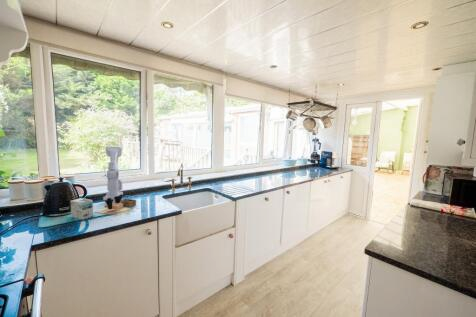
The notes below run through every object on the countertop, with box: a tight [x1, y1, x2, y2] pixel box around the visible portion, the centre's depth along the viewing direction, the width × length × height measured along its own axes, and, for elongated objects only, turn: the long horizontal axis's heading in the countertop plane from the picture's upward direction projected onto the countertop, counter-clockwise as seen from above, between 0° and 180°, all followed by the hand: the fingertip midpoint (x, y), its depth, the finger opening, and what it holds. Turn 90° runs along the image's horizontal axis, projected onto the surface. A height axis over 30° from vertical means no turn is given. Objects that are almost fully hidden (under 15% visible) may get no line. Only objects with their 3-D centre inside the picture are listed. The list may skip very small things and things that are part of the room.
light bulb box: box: [70, 197, 94, 220], centre depth 126 cm, size 11×7×11 cm, turn 71°
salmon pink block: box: [104, 203, 124, 210], centre depth 136 cm, size 9×5×3 cm, turn 78°
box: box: [120, 198, 137, 208], centre depth 148 cm, size 9×5×4 cm, turn 78°
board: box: [94, 206, 135, 216], centre depth 137 cm, size 18×14×1 cm
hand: (113, 207), depth 136 cm, fingers closed on salmon pink block, 5 cm apart
